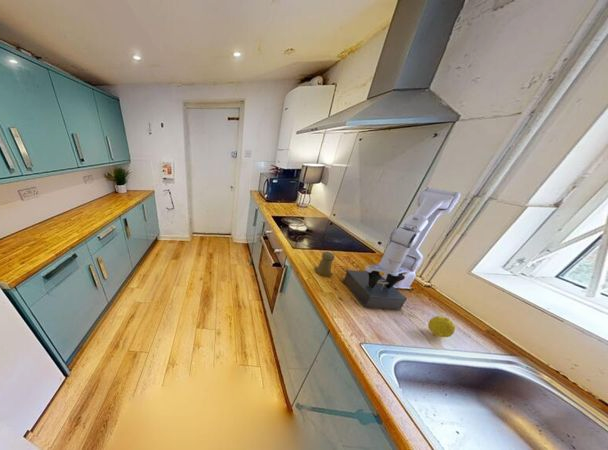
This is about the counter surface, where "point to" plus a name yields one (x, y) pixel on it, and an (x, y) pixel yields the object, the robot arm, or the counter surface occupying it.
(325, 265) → the dark chess pawn
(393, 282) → the robot arm
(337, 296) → the counter surface
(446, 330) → the lemon
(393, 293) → the lid
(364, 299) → the grey hinged box
